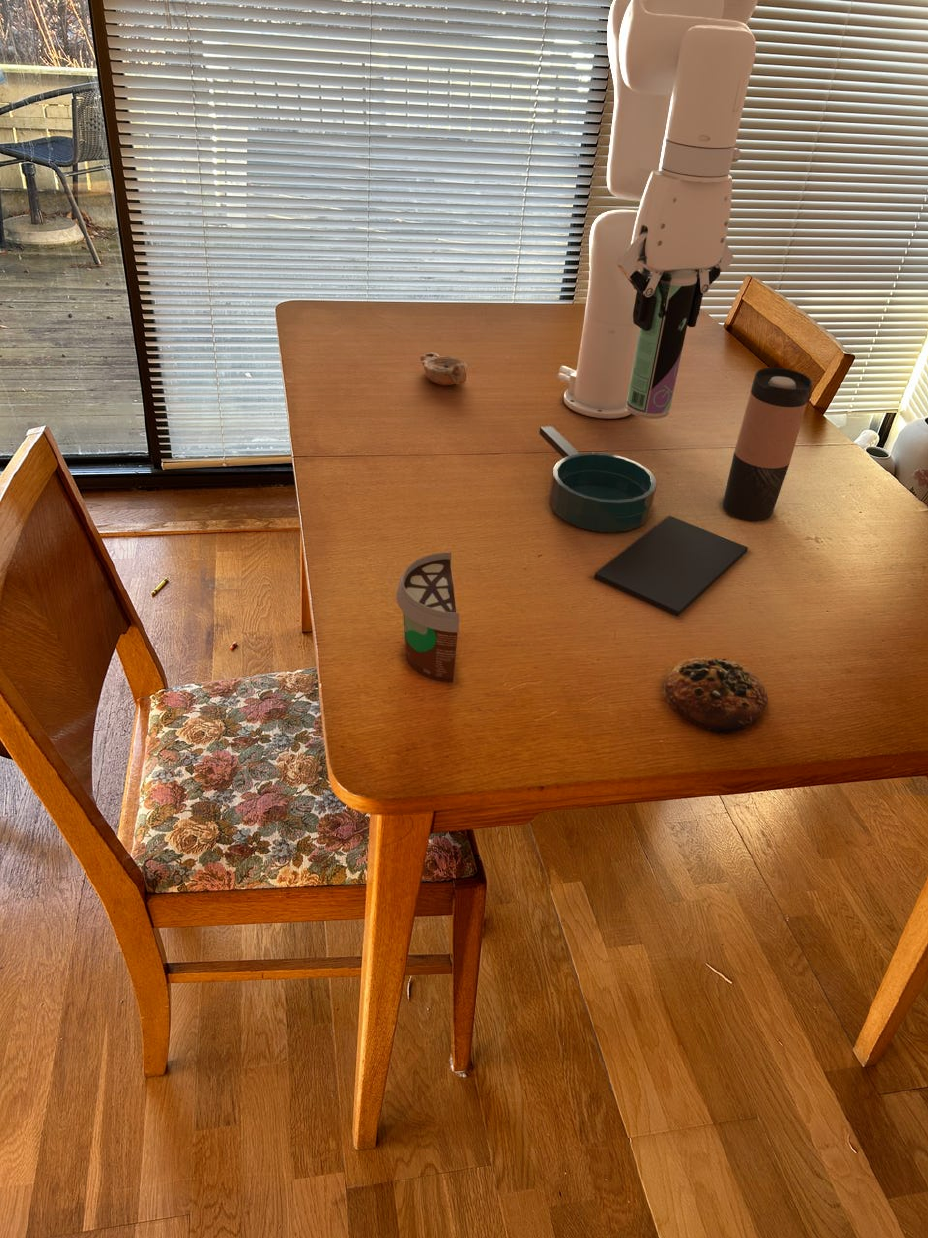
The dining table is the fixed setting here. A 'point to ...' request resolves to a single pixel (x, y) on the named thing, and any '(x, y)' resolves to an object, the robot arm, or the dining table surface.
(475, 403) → the dining table surface
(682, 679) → the bread roll
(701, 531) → the mat
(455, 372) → the oil lamp
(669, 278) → the spray can
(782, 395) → the travel mug
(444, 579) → the food container
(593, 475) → the pan
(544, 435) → the pan handle
